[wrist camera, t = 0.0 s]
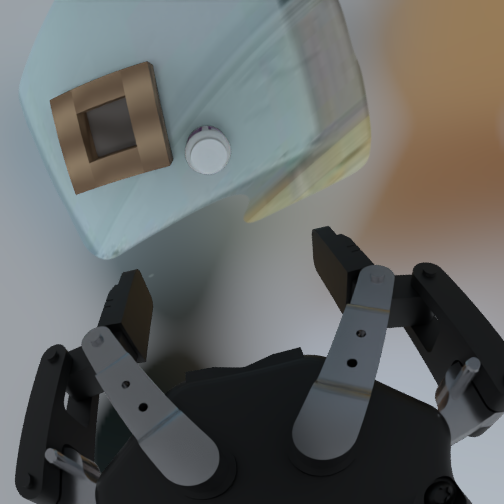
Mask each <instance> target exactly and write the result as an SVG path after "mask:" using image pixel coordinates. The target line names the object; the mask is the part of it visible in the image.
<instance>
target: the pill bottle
mask: <svg viewBox="0 0 504 504" xmlns="http://www.w3.org/2000/svg"><path fill="white" fill-rule="evenodd" d="M230 156H231V147H230V143H229V141H228V140H227V138H226V137H225V136H224V134H223V133H222V132H221V131H220V130H219V129H217V128H215V127H213V126H202V127H199V128H197V129H195V130H194V131H193V132H192V133H191V134H190V136H189V138H188V141H187V144H186V147H185V158H186V160H187V163H188V164H189V166H190V167H191V168H192V169H193V170H195V171H196V172H199V173H201V174H214V173H217V172H219V171H220V170H222V169H223V168H224V167H225V166H226V165H227V163H228V162H229V159H230Z"/></svg>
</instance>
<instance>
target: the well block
mask: <svg viewBox="0 0 504 504" xmlns="http://www.w3.org/2000/svg"><path fill="white" fill-rule="evenodd" d="M50 104H51V109H52V114H53V118H54V122H55V126H56V130H57V134H58V138H59V142H60V146H61V149H62V153H63V156H64V160H65V163H66V166H67V169H68V173H69V176H70V179H71V182H72V185H73V188H74V191H75V194H76V195H77V194H80V193H83V192H85V191H88V190H91V189H94V188H97V187H100V186H103V185H106V184H109V183H112V182H115V181H118V180H122V179H125V178H128V177H131V176H135V175H138V174H142V173H145V172H149V171H152V170H156V169H159V168H163V167H167V166H170V165H171V163H172V161H173V156H172V152H171V148H170V144H169V140H168V135H167V131H166V127H165V122H164V118H163V113H162V109H161V104H160V99H159V95H158V90H157V85H156V80H155V75H154V70H153V65H152V64H150V63H149V62H148V61H147V62H143V63H140V64H137V65H134V66H131V67H128V68H125V69H122V70H119V71H116V72H113V73H111V74H108V75H105V76H103V77H100V78H98V79H95V80H93V81H90V82H88V83H86V84H83V85H81V86H79V87H76V88H74V89H72V90H70V91H68V92H66V93H64V94H61V95H59V96H57V97H55V98H53V99H51V100H50Z"/></svg>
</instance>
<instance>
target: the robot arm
mask: <svg viewBox="0 0 504 504" xmlns="http://www.w3.org/2000/svg"><path fill="white" fill-rule="evenodd" d="M312 244H313V259H314V265H315V268H316V271H317V272H318V274H319V276H320V277H321V279H322V281H323V282H324V284H325V285H326V287H327V289H328V290H329V292H330V294H331V295H332V297H333V299H334V300H335V302H336V304H337V306H338V307H339V309H340V311H341V312H342V314H343V316H342V319H341V321H340V324H339V327H338V329H337V332H336V335H335V337H334V340H333V343H332V345H331V348H330V350H329V353H328V355H327V357H323V356H318V355H303V352H302V350H301V348H300V347H299V348H296V349H292V350H288V351H284V352H280V353H276V354H272V355H270V356H268V357H266V358H264V359H261V360H259V361H257V362H255V363H253V364H251V365H248V366H246V367H241V368H230V367H229V368H227V367H212V368H206V369H201V370H195V371H189V372H186V381H184V382H182V383H180V384H178V385H176V386H175V387H173V388H171V389H170V390H169V391H168V392H167V393H165V394H163V392H162V391H161V390H160V389H159V388H158V387H157V386H156V385H155V384H154V382H153V381H152V380H151V379H150V378H149V377H148V376H147V375H146V373H145V372H144V371H143V370H142V369H141V367H140V366H139V365H138V364H137V363H142V362H146V357H147V348H148V341H149V333H150V325H151V319H152V312H153V301H152V297H151V295H150V293H149V290H148V288H147V287H146V284H145V281H144V279H143V277H142V275H141V273H140V271H139V270H138V269H136V270H132V271H127V272H123V273H122V276H121V278H120V281H119V284H118V285H115V286H114V287H113V288H112V290H111V291H110V292H109V294H108V297H107V300H106V303H105V305H104V308H103V311H102V314H101V317H100V320H99V323H98V326H97V327H96V328H94V329H92V330H90V331H89V332H88V333H87V334H86V335H85V336H84V338H83V340H82V344H81V345H82V346H81V347H78V348H76V349H74V350H71V351H69V352H68V351H67V350H66V349H65V347H64V346H63V345H59V344H57V345H54V346H52V347H50V348H49V349H47V350H46V352H45V353H44V354H43V356H42V358H41V362H40V364H39V367H38V371H37V374H36V377H35V381H34V384H33V388H32V391H31V395H30V399H29V403H28V407H27V411H26V415H25V419H24V425H23V429H22V434H21V440H20V445H19V452H18V458H17V465H16V474H15V484H16V488H17V490H18V492H19V494H20V495H22V497H24V498H26V499H28V500H30V501H32V502H34V503H37V504H472V503H471V502H470V500H469V499H468V498H467V497H466V496H465V495H464V493H463V492H462V491H461V489H460V488H459V487H458V485H457V484H456V482H455V480H454V477H453V473H452V468H451V459H450V458H451V454H450V451H451V446H452V445H453V444H455V443H457V442H458V441H460V440H462V439H464V438H465V437H467V436H470V437H476V436H480V435H481V434H483V433H484V432H485V431H486V430H487V429H488V428H489V427H491V426H492V425H493V424H494V423H495V422H496V421H497V420H498V419H499V418H500V417H501V416H502V415H503V414H504V341H503V339H502V338H501V337H500V335H499V334H498V333H497V332H496V331H495V329H494V328H493V326H492V325H491V324H490V323H489V321H488V320H487V319H486V318H485V317H484V315H483V314H482V313H481V312H480V311H479V309H478V308H477V307H476V306H475V305H474V304H473V302H472V301H471V300H470V299H469V298H468V297H467V296H466V294H465V293H464V292H463V291H462V290H461V289H460V288H459V287H458V286H457V285H456V283H455V282H454V281H453V280H452V279H451V278H450V277H449V276H448V275H447V274H446V273H445V272H444V271H443V270H442V269H441V268H440V267H439V266H437V265H435V264H432V263H419V264H417V265H416V266H415V267H414V268H413V273H412V275H394V274H393V272H392V271H391V270H390V269H389V268H387V267H384V266H381V265H374V264H373V263H372V261H371V260H370V259H369V258H368V257H367V256H366V255H365V254H364V253H363V252H362V251H361V250H360V248H359V247H358V246H356V244H355V243H354V242H353V241H352V240H351V239H350V238H349V237H347V236H345V235H342V234H339V235H336V234H335V232H334V231H333V230H332V229H331V228H330V227H329V226H326V227H321V228H317V229H313V230H312ZM435 316H436V317H435ZM437 319H438V320H437ZM394 327H404V329H405V330H406V332H407V333H408V335H409V337H410V338H411V340H412V341H413V343H414V345H415V346H416V348H417V350H418V351H419V353H420V355H421V356H422V358H423V360H424V361H425V363H426V365H427V366H428V368H429V370H430V372H431V373H432V375H433V377H434V379H435V380H436V382H437V384H438V388H437V390H436V393H435V399H436V403H437V406H438V410H437V409H436V408H434V407H433V406H431V405H429V404H427V403H424V402H422V401H420V400H417V399H415V398H413V397H411V396H409V395H407V394H404V393H402V392H400V391H398V390H396V389H393V388H391V387H389V386H387V385H385V384H382V383H380V382H379V381H376V380H375V377H376V373H377V370H378V366H379V362H380V357H381V353H382V348H383V344H384V339H385V335H386V330H387V328H394ZM65 392H67V393H68V394H69V398H68V405H67V410H65V407H64V397H65ZM103 392H105V394H106V395H107V397H108V398H109V400H110V401H111V403H112V404H113V406H114V408H115V409H116V411H117V412H118V413H119V415H120V416H121V418H122V419H123V421H124V422H125V424H126V425H127V426H128V428H129V429H130V431H131V432H132V433H133V435H132V436H131V437H130V438H129V440H128V441H127V442H126V444H125V445H124V446H123V447H122V449H121V450H120V451H119V452H118V454H117V455H116V456H115V457H114V459H113V460H112V461H111V462H110V464H109V465H108V466H107V467H106V469H105V470H104V471H103V472H102V474H101V475H100V470H99V468H98V466H97V465H96V464H95V463H94V453H95V434H96V422H97V411H98V402H99V394H100V393H103Z"/></svg>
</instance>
